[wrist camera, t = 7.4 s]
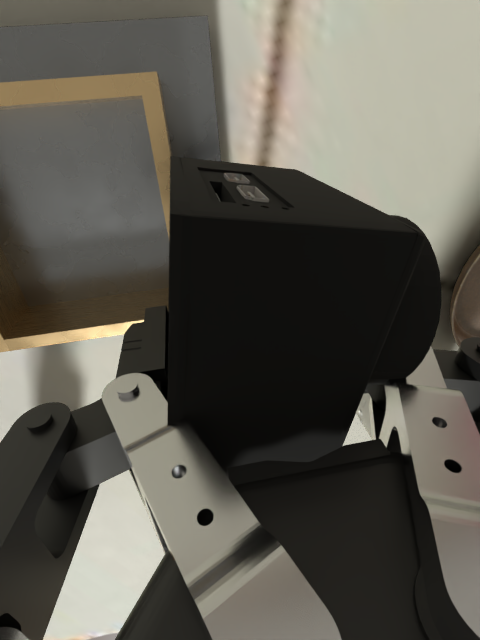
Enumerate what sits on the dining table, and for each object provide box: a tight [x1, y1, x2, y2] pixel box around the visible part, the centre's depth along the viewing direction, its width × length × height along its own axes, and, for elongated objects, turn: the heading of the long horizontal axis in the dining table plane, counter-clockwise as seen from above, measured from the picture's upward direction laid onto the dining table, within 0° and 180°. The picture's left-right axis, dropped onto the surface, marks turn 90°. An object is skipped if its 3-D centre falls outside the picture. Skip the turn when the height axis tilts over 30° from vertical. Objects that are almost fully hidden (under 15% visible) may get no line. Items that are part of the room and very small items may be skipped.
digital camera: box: [167, 156, 441, 479], centre depth 11 cm, size 10×5×7 cm, turn 173°
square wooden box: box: [0, 16, 221, 352], centre depth 25 cm, size 22×22×8 cm
